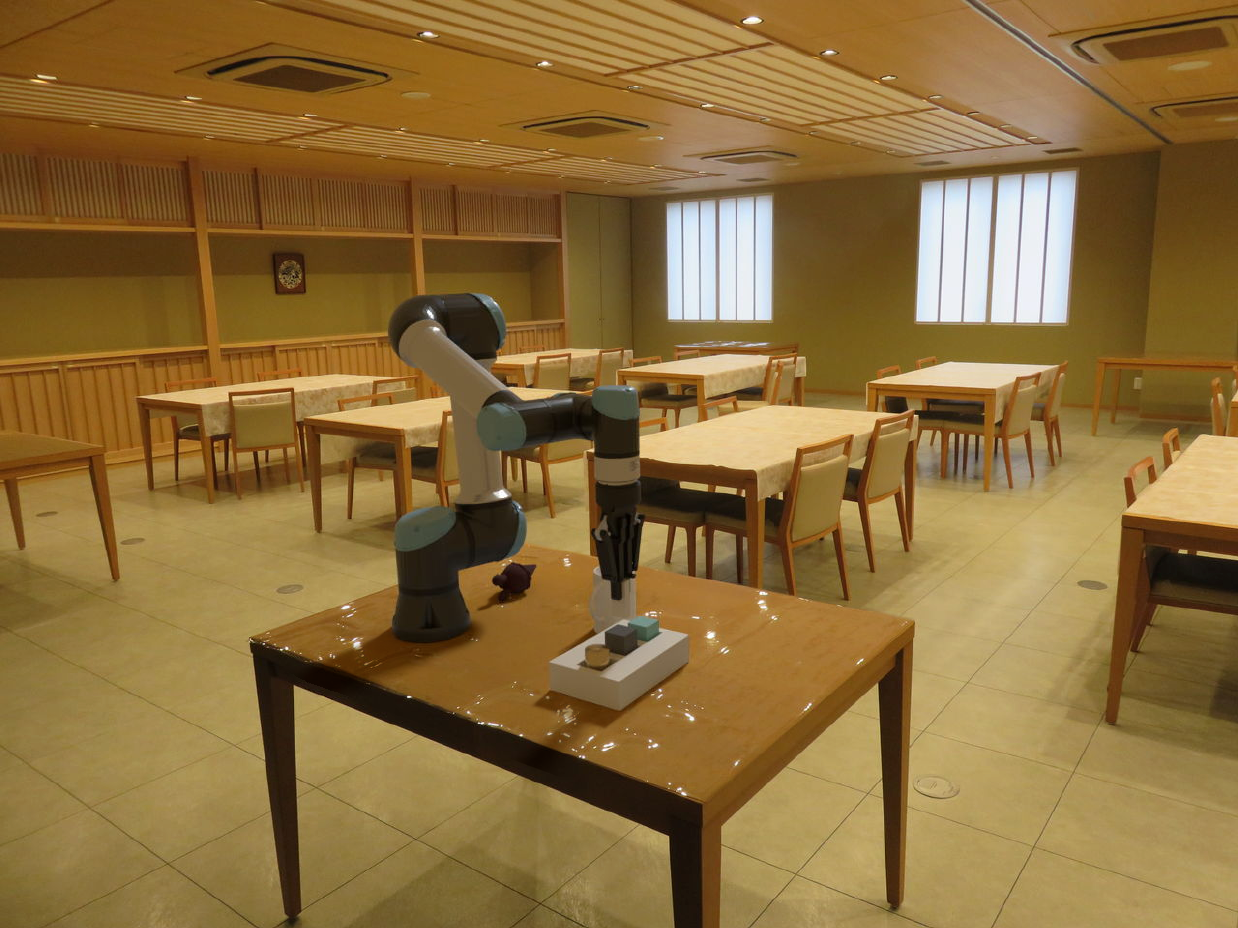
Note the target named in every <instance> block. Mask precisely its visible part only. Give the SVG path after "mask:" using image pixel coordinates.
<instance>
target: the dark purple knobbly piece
mask: <svg viewBox="0 0 1238 928" xmlns="http://www.w3.org/2000/svg"><path fill="white" fill-rule="evenodd" d="M537 566H538V565H537V564H536V563H535V564H521V563H519V562H518V563H517V562H514V561H512V562H510V563H509V564H507V565H506V566H505V567H504V569H503V570H502V572H501V573H500V574H498V573H497V574H496V575H494V576H493V577H492V578H491V584H492V585H494V586H496V587H499V588H500V589H502V590H501V591H500V592H499V594H498V596H497V600H498V601H499V602H501V603H502V602H505V601H507V600H508V598H509V597H510V596H511V595H513V594H520V593H523V592H525V591H526V590H529V589H530V588H531V583H532V582H531V580H532V576H533V574H534V572H535V569H536V568H537Z"/></svg>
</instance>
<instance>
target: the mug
mask: <svg viewBox="0 0 1238 928" xmlns="http://www.w3.org/2000/svg"><path fill="white" fill-rule="evenodd" d="M632 574H636V571H633V573H632ZM592 577H593V578H592V579H593V581H592V582H593V590H592V592H591V594H590V596H589V601H588V608H589V611H588V612H589V614H590V616H591V618H592V620H593V623H594V624H593V631H594V632H595V634H596V635H597V634H599V633H600V632H602V631H604V630H606V629H607V628H609V627H611V626H613V625H614V624H616V623H618V622H620V621H621V620H623V619H624V618H620V617H615V616H612V598H611V582H610V581H608V580H604V579H602V576H601V571H600V565H599V566H596V567H595V568H594V569H593V571H592ZM636 605H637V604H636V577H635V578H634V579H632V578H630V617H628V618H626V619H624V620H628V621H632V620H633V619H635V618H637V614H636V613H637V610H636V609H637V608H636Z"/></svg>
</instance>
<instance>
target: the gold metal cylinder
mask: <svg viewBox="0 0 1238 928" xmlns="http://www.w3.org/2000/svg"><path fill="white" fill-rule="evenodd" d="M585 665H586V668H590V669H593V670H597V671H603V670H605V669H606V668H608V667H609V666H610V654H609V647H608V646H607V645H604V644H592V645H589V646H587V647H586V648H585Z"/></svg>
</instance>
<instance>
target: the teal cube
mask: <svg viewBox="0 0 1238 928" xmlns="http://www.w3.org/2000/svg"><path fill="white" fill-rule="evenodd" d="M628 627H632V628H636V629H637V639H638V640H642V641H646V642H649V641H650V640H652V639H653V638H655V637H657V636H658V635H659V628H660V620H659V619H656V618H651V617H648V616H644V615H638V616H636V618H635V619H633V620H632V621H630V622H628Z"/></svg>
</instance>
